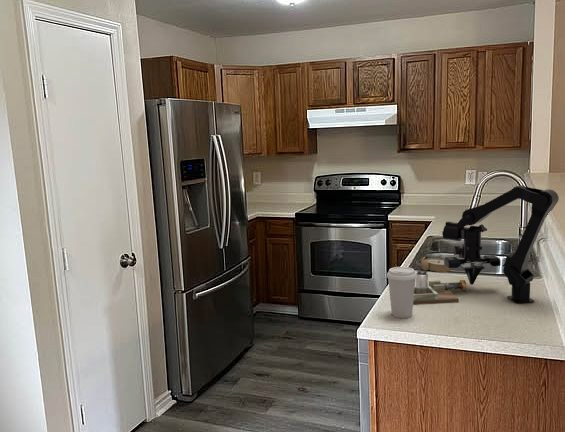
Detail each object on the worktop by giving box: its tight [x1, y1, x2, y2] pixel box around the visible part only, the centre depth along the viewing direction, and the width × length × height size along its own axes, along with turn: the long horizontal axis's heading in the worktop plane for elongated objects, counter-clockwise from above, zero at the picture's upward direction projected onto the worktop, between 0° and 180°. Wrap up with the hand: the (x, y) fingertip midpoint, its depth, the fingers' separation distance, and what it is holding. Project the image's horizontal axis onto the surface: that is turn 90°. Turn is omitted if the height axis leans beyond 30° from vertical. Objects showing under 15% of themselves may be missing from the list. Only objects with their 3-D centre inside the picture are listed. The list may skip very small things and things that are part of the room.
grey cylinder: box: [415, 270, 429, 294], centre depth 179 cm, size 4×4×9 cm
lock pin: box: [439, 279, 468, 292], centre depth 186 cm, size 4×9×4 cm, turn 91°
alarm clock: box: [415, 256, 454, 273], centre depth 219 cm, size 11×5×15 cm
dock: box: [413, 280, 460, 306], centre depth 182 cm, size 14×16×4 cm
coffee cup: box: [386, 266, 417, 319], centre depth 165 cm, size 10×10×15 cm
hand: (471, 284), depth 186 cm, fingers closed
